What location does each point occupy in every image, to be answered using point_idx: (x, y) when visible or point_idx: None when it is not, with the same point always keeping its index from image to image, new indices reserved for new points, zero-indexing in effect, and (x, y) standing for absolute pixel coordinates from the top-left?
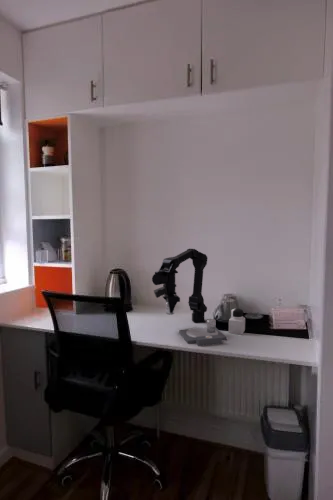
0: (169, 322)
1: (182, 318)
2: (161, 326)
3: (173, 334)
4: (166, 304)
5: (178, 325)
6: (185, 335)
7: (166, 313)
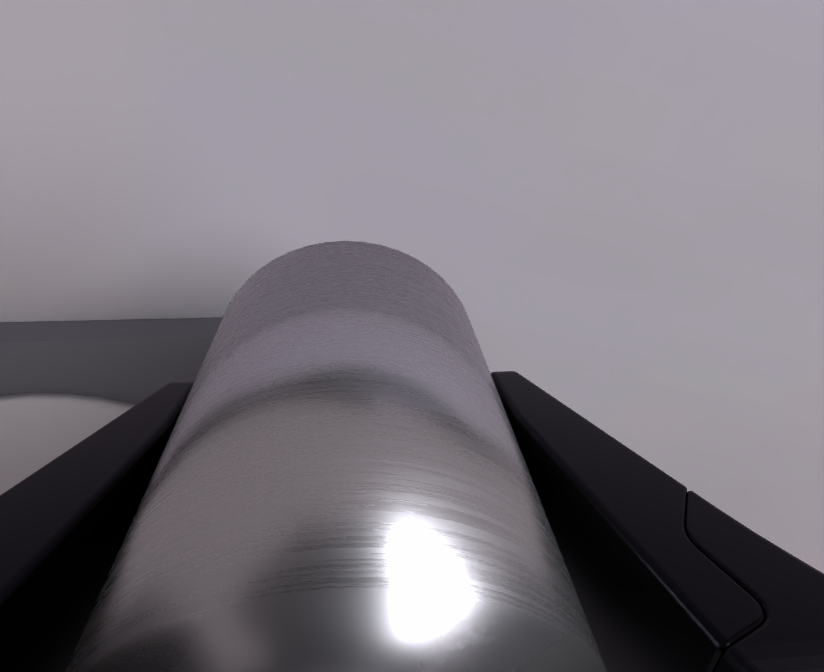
0: (750, 283)
1: (796, 462)
2: (638, 115)
3: (200, 221)
4: (233, 507)
5: (568, 369)
6: (1, 368)
7: (300, 257)
